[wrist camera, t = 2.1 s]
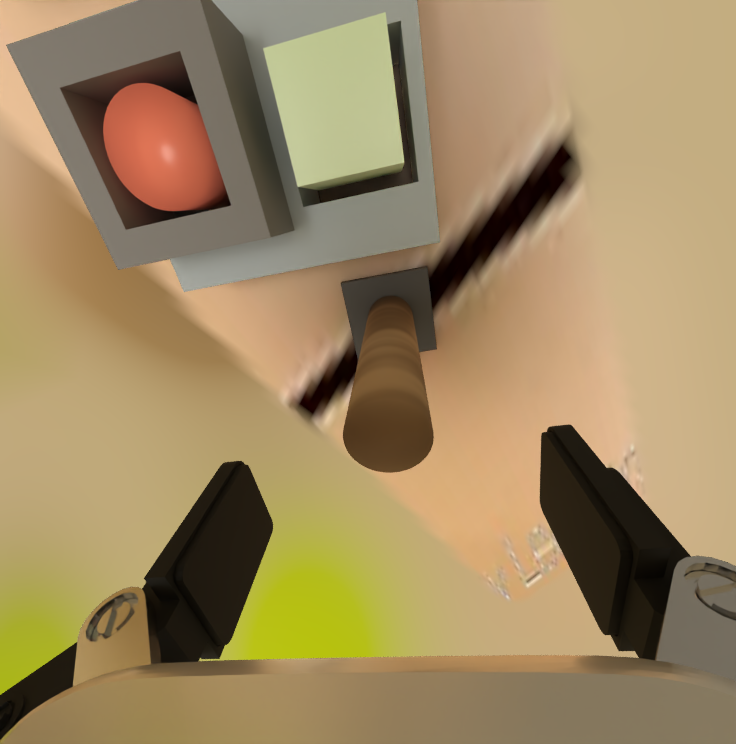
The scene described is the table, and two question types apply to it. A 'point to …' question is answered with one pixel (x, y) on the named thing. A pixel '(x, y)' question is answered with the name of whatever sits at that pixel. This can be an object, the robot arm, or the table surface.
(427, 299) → the pad
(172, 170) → the button
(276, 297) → the table surface
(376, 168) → the on button
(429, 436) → the brown wooden cylinder
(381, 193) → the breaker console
